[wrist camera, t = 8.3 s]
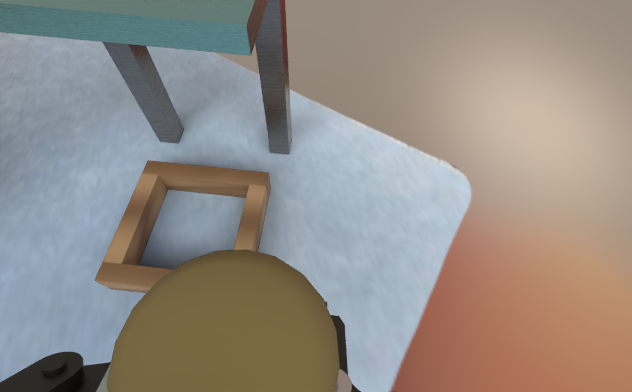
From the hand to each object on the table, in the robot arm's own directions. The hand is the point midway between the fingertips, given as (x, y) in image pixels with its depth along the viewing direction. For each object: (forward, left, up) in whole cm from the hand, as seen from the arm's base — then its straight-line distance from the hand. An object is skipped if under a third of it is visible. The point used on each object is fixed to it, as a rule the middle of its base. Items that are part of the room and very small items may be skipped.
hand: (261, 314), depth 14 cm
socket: (-11, +7, -14) cm, 19 cm away
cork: (+1, -2, -4) cm, 5 cm away
